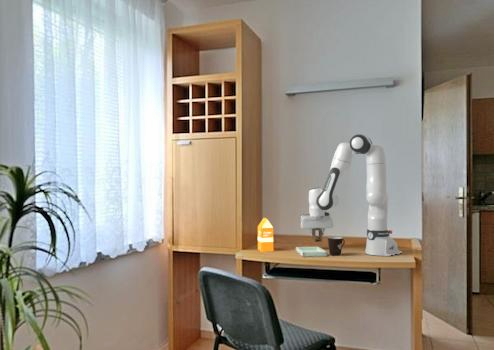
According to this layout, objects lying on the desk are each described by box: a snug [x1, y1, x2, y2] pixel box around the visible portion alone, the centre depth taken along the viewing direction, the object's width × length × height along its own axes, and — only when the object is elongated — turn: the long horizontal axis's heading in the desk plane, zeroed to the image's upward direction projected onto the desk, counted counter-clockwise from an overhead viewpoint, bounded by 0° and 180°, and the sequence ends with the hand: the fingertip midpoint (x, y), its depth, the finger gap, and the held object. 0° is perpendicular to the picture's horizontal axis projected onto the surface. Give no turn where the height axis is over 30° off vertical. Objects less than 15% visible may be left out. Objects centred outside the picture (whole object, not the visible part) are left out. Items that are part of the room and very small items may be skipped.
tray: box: [295, 246, 328, 258], centre depth 251 cm, size 14×19×2 cm
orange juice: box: [257, 217, 274, 253], centre depth 262 cm, size 8×9×20 cm
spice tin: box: [311, 228, 323, 243], centre depth 267 cm, size 5×5×8 cm
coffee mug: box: [327, 236, 346, 257], centre depth 247 cm, size 12×9×10 cm
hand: (317, 235), depth 267 cm, fingers closed on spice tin, 5 cm apart
